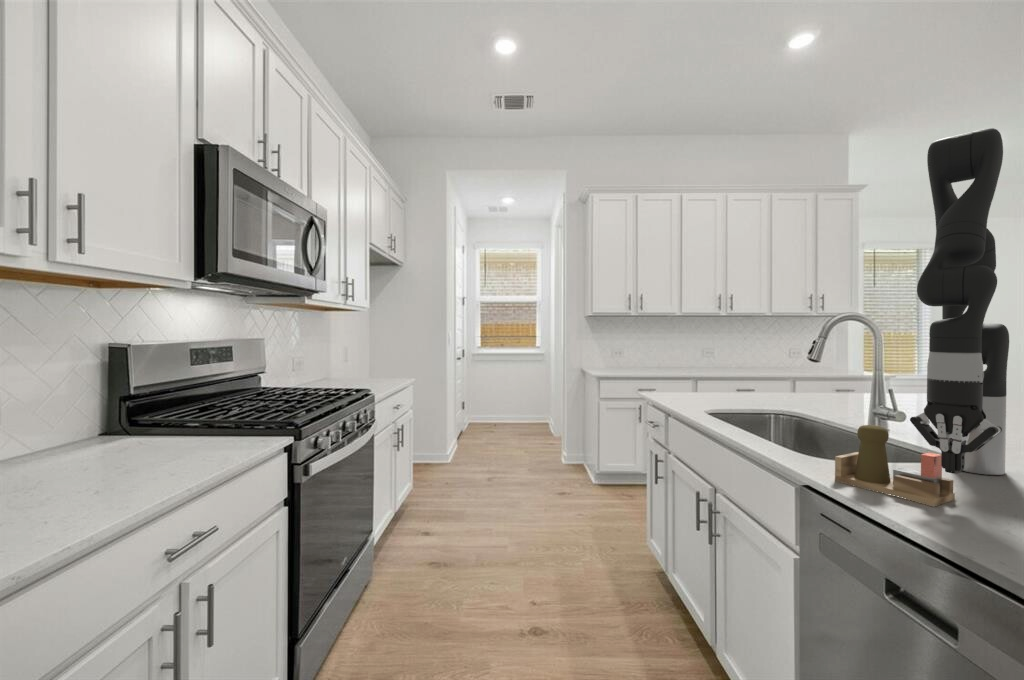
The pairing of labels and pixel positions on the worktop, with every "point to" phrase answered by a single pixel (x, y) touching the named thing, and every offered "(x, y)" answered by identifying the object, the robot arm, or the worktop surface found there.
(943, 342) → the robot arm
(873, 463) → the olive rounded piece
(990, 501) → the worktop surface
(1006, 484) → the worktop surface
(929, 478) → the red grey l-shaped block
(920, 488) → the light brown wooden holder
